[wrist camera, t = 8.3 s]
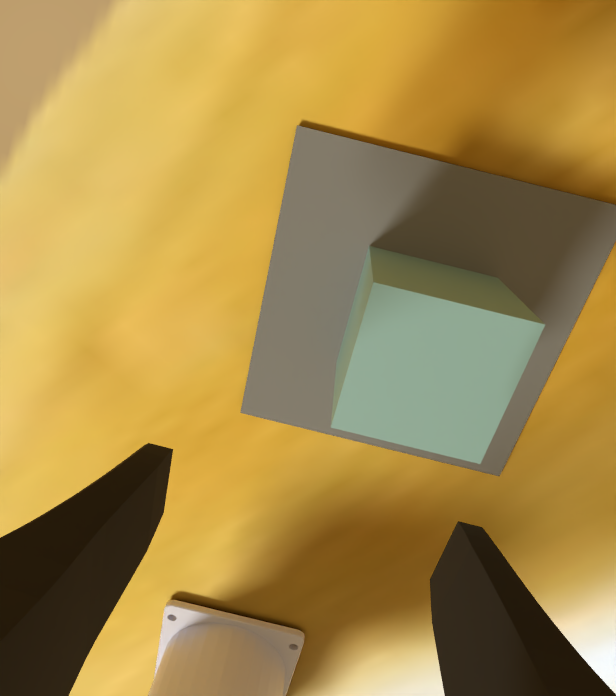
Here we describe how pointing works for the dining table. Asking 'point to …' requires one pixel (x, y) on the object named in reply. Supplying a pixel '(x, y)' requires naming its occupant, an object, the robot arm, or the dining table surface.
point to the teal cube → (430, 355)
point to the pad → (417, 241)
